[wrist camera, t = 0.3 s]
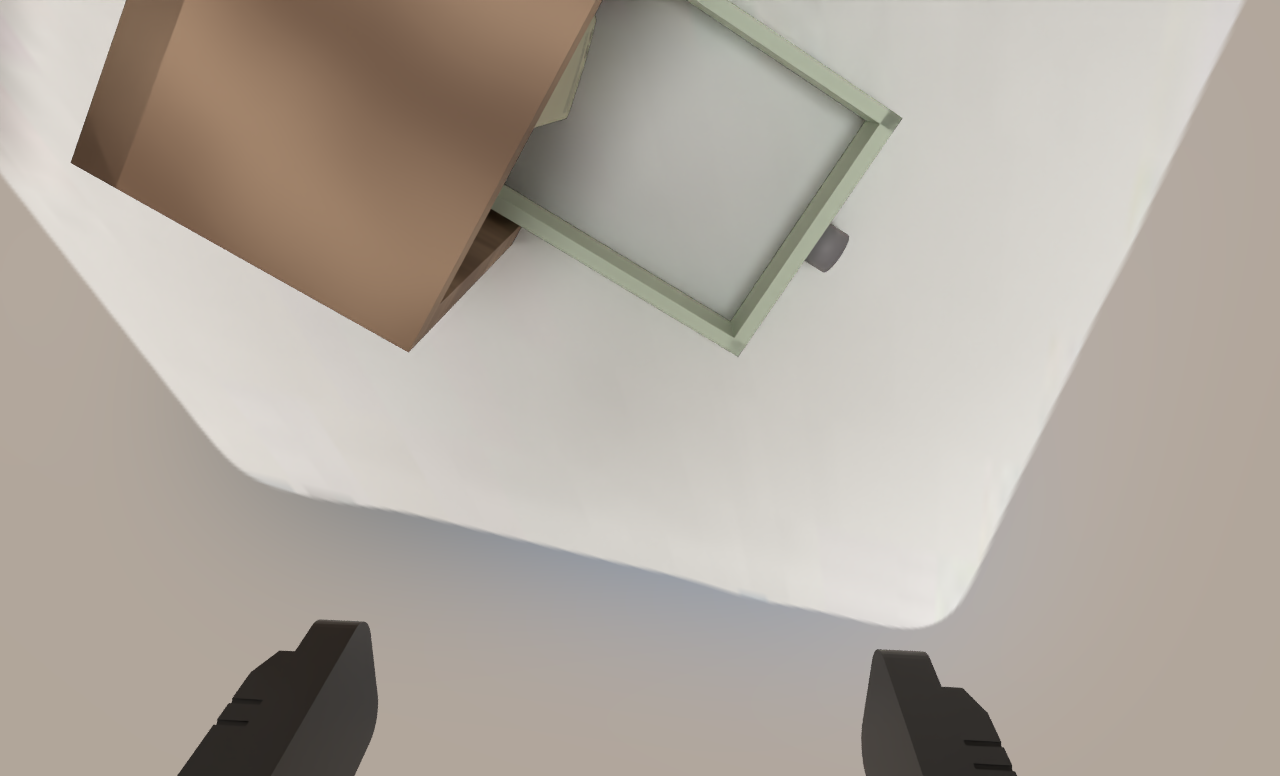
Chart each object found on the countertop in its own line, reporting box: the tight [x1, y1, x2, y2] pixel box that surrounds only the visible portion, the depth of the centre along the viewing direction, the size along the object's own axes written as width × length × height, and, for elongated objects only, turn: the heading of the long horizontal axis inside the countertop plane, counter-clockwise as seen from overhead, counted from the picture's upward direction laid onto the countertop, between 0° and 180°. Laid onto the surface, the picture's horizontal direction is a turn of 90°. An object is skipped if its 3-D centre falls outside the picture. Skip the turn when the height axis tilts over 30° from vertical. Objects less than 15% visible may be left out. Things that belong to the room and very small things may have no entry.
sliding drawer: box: [491, 0, 902, 357], centre depth 33 cm, size 11×20×2 cm, turn 59°
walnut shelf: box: [71, 0, 602, 352], centre depth 27 cm, size 14×10×15 cm, turn 149°
